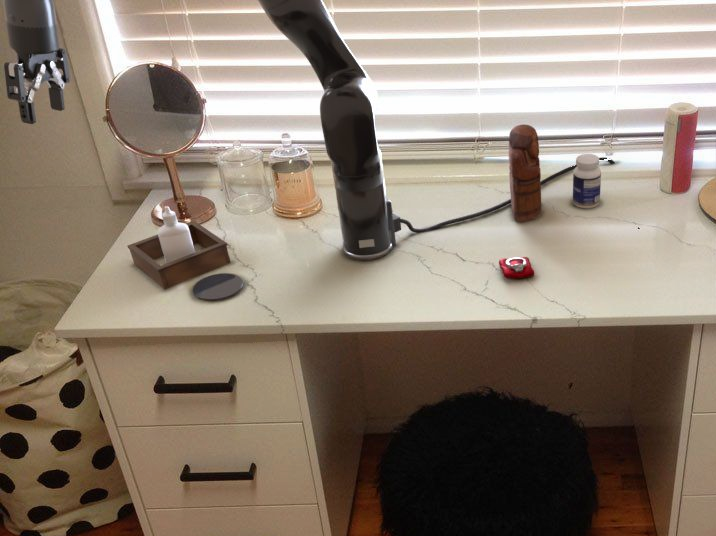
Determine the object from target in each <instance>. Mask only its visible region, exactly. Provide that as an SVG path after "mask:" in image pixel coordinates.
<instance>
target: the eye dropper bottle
mask: <svg viewBox="0 0 716 536" xmlns="http://www.w3.org/2000/svg"><path fill="white" fill-rule="evenodd" d="M161 218H162V221H163V225H161V226H160V227H159V228H158V229H157V234H158V236H159V240H160V244H161V247H162V250H163V254H164V256H163V257H164V260H165V264H167V263H169V262H172V261H174V260H177V259H179V258H182V257H185V256H187V255H190V254H192V253H195V252H196V250H195V246H194V245H193V242H192V238H191V235H190V231H189V228H188V225H187V223H185V222H180V221H178V217H177V214H176V211H174V210H171V209H170V207H169V205H166V206H164V212H163V213H161Z"/></svg>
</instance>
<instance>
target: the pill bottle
mask: <svg viewBox="0 0 716 536" xmlns="http://www.w3.org/2000/svg"><path fill="white" fill-rule="evenodd" d="M599 158H600V157H599V156H598V155H596V154H593V153H582V154H578V156H576V158H575V165H577V167H576V168H575V169H573V174H572V175H573V176H572V204H573V205H575V206H576V207H577V208H580V209H592V208H595V207H597V206H598V205H599V204H600V203H601V185H602V184H601V183H602V170H601V169H600V167H599V166H600V161H599Z"/></svg>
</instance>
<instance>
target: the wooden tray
mask: <svg viewBox="0 0 716 536" xmlns="http://www.w3.org/2000/svg"><path fill="white" fill-rule="evenodd" d="M186 224H187V225H188V228H189V231H190V235H191V238H192V242H193V246H194V245H199V246H201V248H203V249H199V250H197V251H195V253H192V254H190V255H187V256H185V257H182V258H179V259H177V260H174V261H172V262H169V263H167V264H166V263H164V264H162V265H161V264H160V263H158V262H157V261H156V260H158V259H161V258H163V257H164V254H163V250H162V247H161V244H160V240H159V236H158V233H157V234H154V235H151V236H149V237H146V238H144V239H141V240H139V241H136V242H132V243H131V244H128V245H127V246H126V247H127V249H128V250H129V253H130V255H131V258H132V262H133V265H134V267H136V268H137V269H139V270H140V271H141V272H142V273H144V275H146V276H147V277H148V278H149V279H151V280H152V281H154V282H155V283H156V284H157V285H158V286H159V287H161V288H162V289H163V290H167V289H170V288H172V287H174V286H177V285H180V284H182V283H184V282H187V281H190V280H191V279H195V278H197V277H199V276H201V275H204V274H206V273H209V272H212V271H214V270H217V269H219V268H222V267H224V266H226V265H229V264H231V259H230V258H231V257H230V254H229V250H228V247H227V246H228V243H227V242H226V240H223V239H222V238H220V236H217V235H216V234H215V233H214V232H212V231H210V230H209V229H207V228H206V227H204V225H202V224H199V222H197V221H195V220H194V221H191V222H187V223H186Z"/></svg>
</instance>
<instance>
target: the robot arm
mask: <svg viewBox="0 0 716 536" xmlns="http://www.w3.org/2000/svg"><path fill="white" fill-rule="evenodd" d="M257 1H258V3H259V5H260V6H261V8H262V10H263V11H264V13H265V14H266V16H267V17H268V19H269V21H271V23H272V24H273V25H274V26H275V27H276V28H277V29H278V31H280V32H281V34H282V35H283V36H285V37H286V39H287V40H288V41H290V42H291V43H292V44H293V46H295V47H296V48H297V49H298V50H299V51H300V52H301V53H302V54H303V55H304V57H305V58H306V60H307V62H308V63H309V64H310V66H311V68H312V69H313V71H314V73H315V74H316V77H317V78H318V81H319V83H320V84H321V87H322V90H323V91H324V93H323V94H322V96H321V99H320V103H319V117H320V123H321V128H322V133H323V134H322V135H323V140H324V141H323V142H324V145H325V150H326V155H327V157H328V159H329V161H330V165H331V172H332V179H333V184H334V191H335V197H336V205H337V211H338V218H339V224H340V230H341V231H340V232H341V238H342V247H343V253H344V254H345V256H347V257H348V258H350V259H352V260H356V261H372V260H377V259H381V258H383V257H385V256H387V255H388V254H389V253H390V252H391V251H392V250H393V248H394V247H396V246H397V241H396V233H397V232H400V231H402V224H404V225H406V226H407V228H408V229H409V231H410V232H412V233H416V234H421V233H426V232H429V231H434V230H438V229H440V228H443V227H446V226H448V225H453V224H457V223H459V222H464V221H468V220H471V219H475V218H478V217H481V216H484V215H487V214H489V213H492V212H495V211H498V210H499V209H501V208H505V207H506V206H508V205H511V198H509V199H507V200H505V201H503V202H501V203H498V204H497V205H495V206H492V207H489V208H486V209H484V210H480V211H477V212H474V213H471V214H468V215H464V216H460V217H456V218H452V219H447V220H445V221H442V222H440V223H437V224H435V225H432V226H429V227H426V228H414V226H413V225H412V223H411V222H410V221H409V220H407V219H404V218H401V216H400V215H399V216H398V215H397V214H394V213H393V205H392V204H393V203H392V201H391V199H388V198H387V190H386V182H385V174H384V173H385V172H384V164H383V155H382V151H381V148H380V147H379V145H378V139H377V132H376V124H375V114H376V112H377V108H378V105H379V99H378V97H379V96H378V92H377V89H376V86H375V84H374V83H373V81H372V79H371V78H370V77H369V75H368V73H367V72H366V71H365V70H364V68H363V67H362V66H361V64H360V62H359V61H358V59H357V58H356V57H355V55H354V54H353V53H352V51H351V50H350V49H349V47H348V45H347V44H346V43H345V41H344V39H343V37H342V36H341V33H340V32H339V30H338V28H337V26H336V24H335V22H334V20H333V18H332V15H331V14H330V12H329V11H328V9H327V7H326V5H325V3H324V1H323V0H257ZM2 4H3V12H4V19H5V25H6V32H7V39H8V45H9V47H10V48H11V50H13V51H14V52H15V53H16V56H17V57H16V62H8V61H5V62H4V64H3V69H4V78H5V86H6V95H7V99H8V100H12V101H16V102H17V103H18V111H19V117H20V120H21V122H22V123H24V124H29V125H35V123H37V118H36V111H35V103H34V98H35V93H36V92H37V91H39V90H40V86H41V85H42V84H43V83H44V82H46V84H47V85H48V96H49V105H50V108H51V110H54V111H59V112H62V111H64V110H65V109H66V108H65V97H64V89H65V88H66V84H69V83H71V75H70V68H69V67H70V66H69V61H68V54H67V50H66V49H65V48H62V47H60V39H59V31H58V23H57V14H56V13H57V12H56V6H55V2H54V0H2ZM60 70H61V71H62V74H61V72H60ZM26 81H27V82H26ZM15 87H16V90H15ZM26 90H27V92H26ZM607 158H608V157H603V156H602V157H599V160H604V159H607ZM606 162H607V163H609V164H610V165H615V164H616V162H615V161H614V160H613V159H611V160H608V161H606ZM574 165H575V166H574ZM571 166H572V167H571ZM571 166H568V167H567V168H564V169H562V170H560V171H558V172H556V173H553V174H551V175H549V176H547V177H546V178H545V179H543V180H540V182H541V187H542V186H543V185H545V184H546V183H548V182H550V181H552V180H554V179H556V178H558V177H560V176H562V175H564V174H566V173H568V172H571V171H574V169H575V168H576V167H577V165H576V164H573V165H571Z"/></svg>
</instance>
